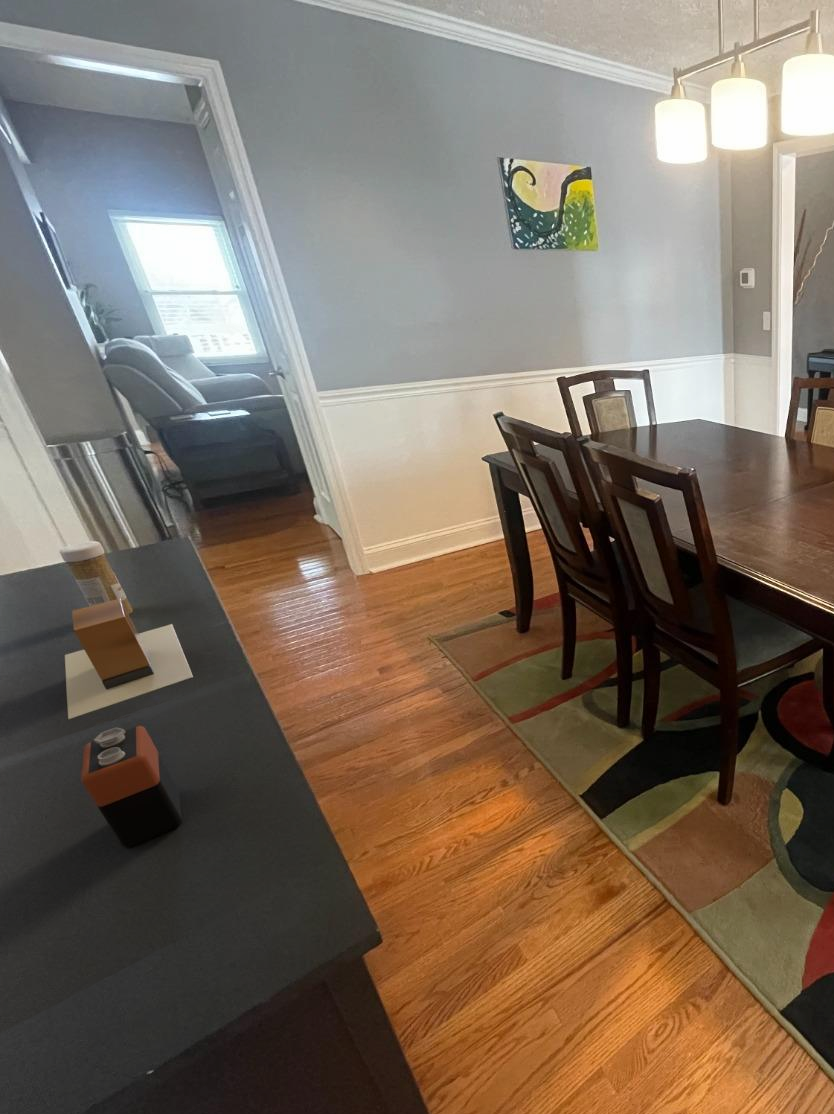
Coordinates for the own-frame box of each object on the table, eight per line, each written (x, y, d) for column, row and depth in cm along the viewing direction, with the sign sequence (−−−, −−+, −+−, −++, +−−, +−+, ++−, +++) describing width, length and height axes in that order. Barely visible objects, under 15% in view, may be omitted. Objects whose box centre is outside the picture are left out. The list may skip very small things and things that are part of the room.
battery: (180, 789, 64) (139, 715, 60) (183, 826, 60) (140, 748, 56) (124, 812, 62) (78, 736, 57) (124, 852, 57) (73, 772, 53)
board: (67, 660, 88) (64, 654, 88) (174, 629, 96) (171, 623, 96) (71, 725, 74) (68, 719, 74) (196, 682, 82) (193, 676, 82)
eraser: (102, 664, 85) (71, 609, 81) (147, 650, 88) (119, 597, 85) (106, 689, 80) (73, 631, 76) (154, 674, 83) (125, 617, 79)
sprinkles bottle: (143, 614, 101) (107, 540, 95) (112, 627, 97) (73, 552, 91) (122, 612, 102) (84, 539, 96) (90, 625, 98) (49, 550, 92)
